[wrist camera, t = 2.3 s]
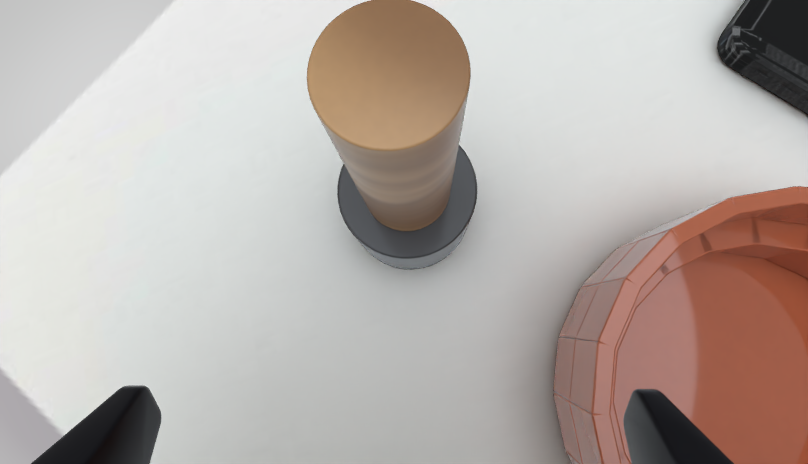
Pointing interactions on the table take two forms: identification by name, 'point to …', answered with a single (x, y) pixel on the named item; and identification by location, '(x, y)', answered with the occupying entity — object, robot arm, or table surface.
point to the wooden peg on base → (397, 128)
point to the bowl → (696, 333)
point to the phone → (770, 47)
